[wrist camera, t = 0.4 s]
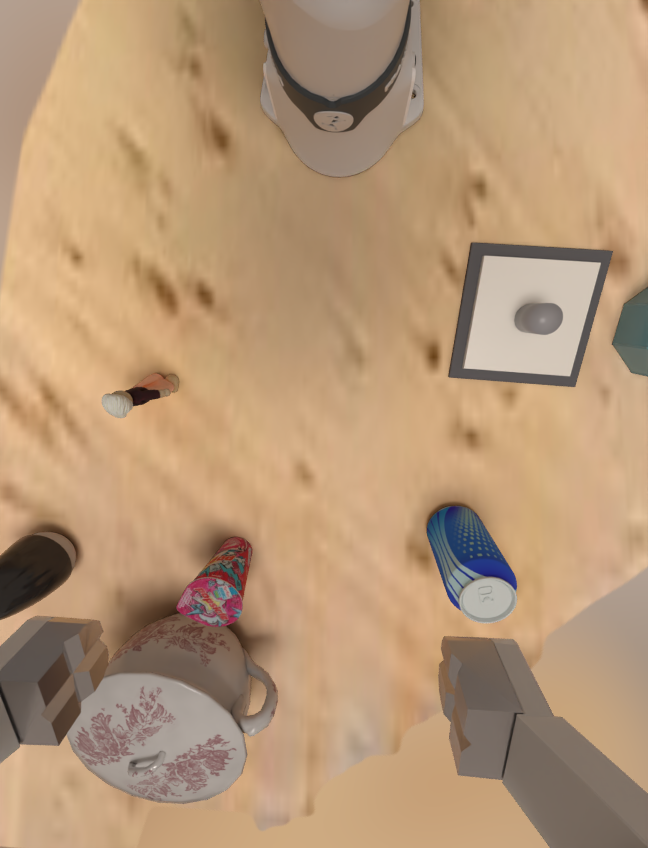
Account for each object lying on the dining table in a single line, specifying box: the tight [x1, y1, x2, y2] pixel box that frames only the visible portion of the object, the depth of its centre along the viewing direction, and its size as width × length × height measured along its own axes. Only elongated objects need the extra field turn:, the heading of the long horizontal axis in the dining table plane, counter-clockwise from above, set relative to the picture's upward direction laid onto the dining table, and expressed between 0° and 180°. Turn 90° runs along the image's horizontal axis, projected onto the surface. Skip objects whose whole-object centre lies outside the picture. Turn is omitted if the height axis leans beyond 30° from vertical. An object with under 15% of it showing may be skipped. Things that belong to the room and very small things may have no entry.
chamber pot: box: [67, 613, 278, 804], centre depth 60 cm, size 28×28×21 cm
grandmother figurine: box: [102, 373, 179, 418], centre depth 49 cm, size 8×4×13 cm, turn 110°
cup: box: [176, 537, 252, 627], centre depth 57 cm, size 9×8×12 cm
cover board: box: [462, 256, 601, 376], centre depth 45 cm, size 14×14×5 cm
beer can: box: [427, 506, 517, 623], centre depth 51 cm, size 8×8×16 cm
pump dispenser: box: [0, 532, 76, 620], centre depth 58 cm, size 10×10×15 cm
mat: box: [448, 243, 613, 387], centre depth 48 cm, size 17×17×1 cm
